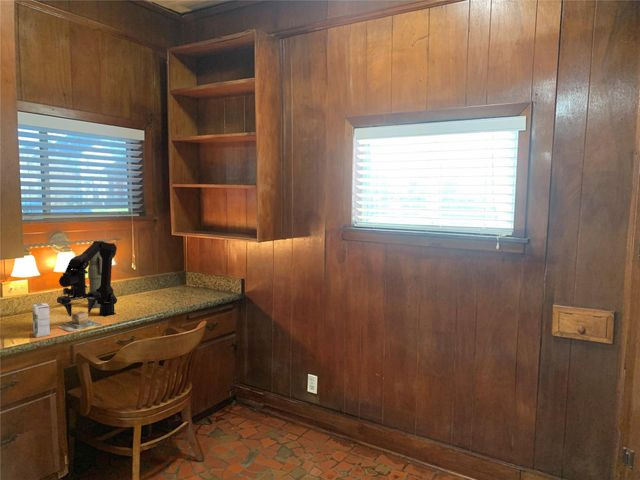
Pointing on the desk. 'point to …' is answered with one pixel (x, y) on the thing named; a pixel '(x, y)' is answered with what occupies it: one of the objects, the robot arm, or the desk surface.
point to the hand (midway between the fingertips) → (79, 314)
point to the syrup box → (41, 320)
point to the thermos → (95, 275)
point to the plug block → (79, 318)
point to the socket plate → (78, 326)
